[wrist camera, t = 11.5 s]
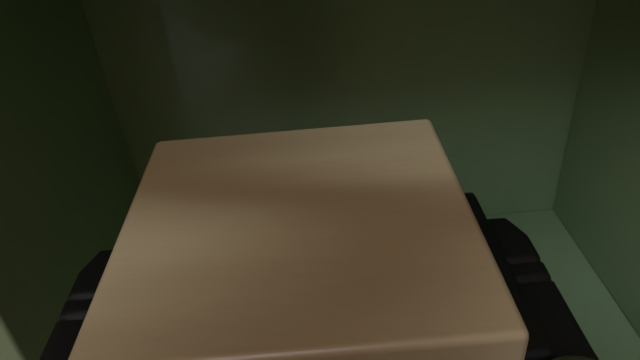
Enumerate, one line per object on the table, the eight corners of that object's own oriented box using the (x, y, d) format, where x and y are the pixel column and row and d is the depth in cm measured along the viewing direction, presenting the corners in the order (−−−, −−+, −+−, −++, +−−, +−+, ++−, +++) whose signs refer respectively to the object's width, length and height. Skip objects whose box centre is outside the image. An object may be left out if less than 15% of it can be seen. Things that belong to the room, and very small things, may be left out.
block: (206, 326, 12) (165, 577, 8) (155, 139, 9) (57, 374, 5) (421, 308, 12) (486, 550, 8) (430, 116, 9) (534, 334, 5)
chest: (144, 246, 20) (63, 488, 13) (16, -147, 13) (-319, -103, 6) (561, 211, 20) (714, 432, 13) (652, -200, 13) (1098, -220, 6)
